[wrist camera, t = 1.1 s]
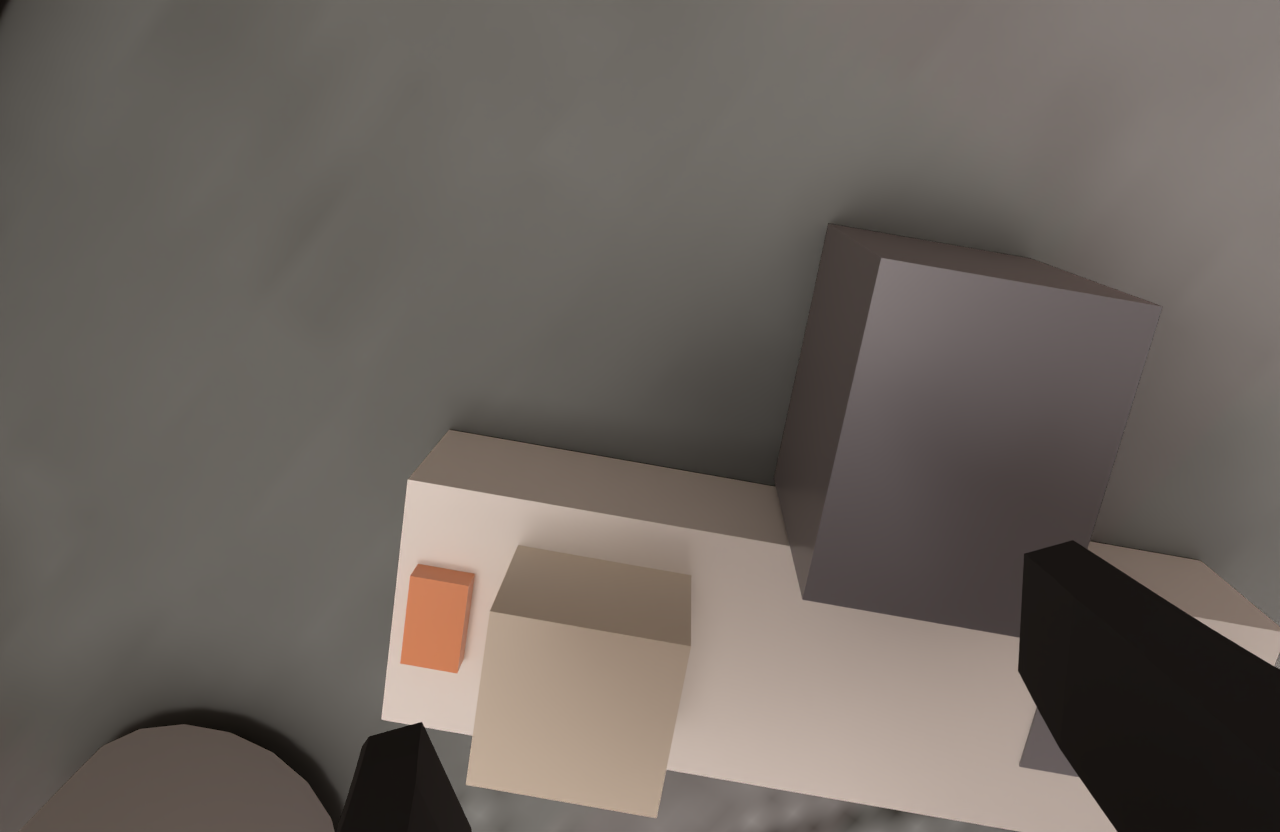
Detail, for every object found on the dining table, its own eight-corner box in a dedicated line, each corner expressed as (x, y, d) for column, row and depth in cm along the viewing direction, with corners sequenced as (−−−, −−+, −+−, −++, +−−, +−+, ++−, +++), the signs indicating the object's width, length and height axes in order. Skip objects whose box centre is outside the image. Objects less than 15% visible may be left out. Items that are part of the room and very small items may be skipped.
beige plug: (691, 574, 21) (691, 646, 18) (661, 727, 22) (656, 818, 19) (518, 545, 21) (489, 611, 18) (495, 698, 22) (465, 784, 19)
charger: (1030, 258, 22) (1162, 306, 16) (933, 617, 25) (1015, 781, 18) (828, 223, 22) (880, 257, 16) (750, 585, 25) (770, 738, 18)
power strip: (1200, 560, 24) (1303, 646, 20) (1130, 763, 25) (1213, 882, 21) (449, 429, 24) (399, 489, 20) (423, 640, 26) (372, 735, 21)
